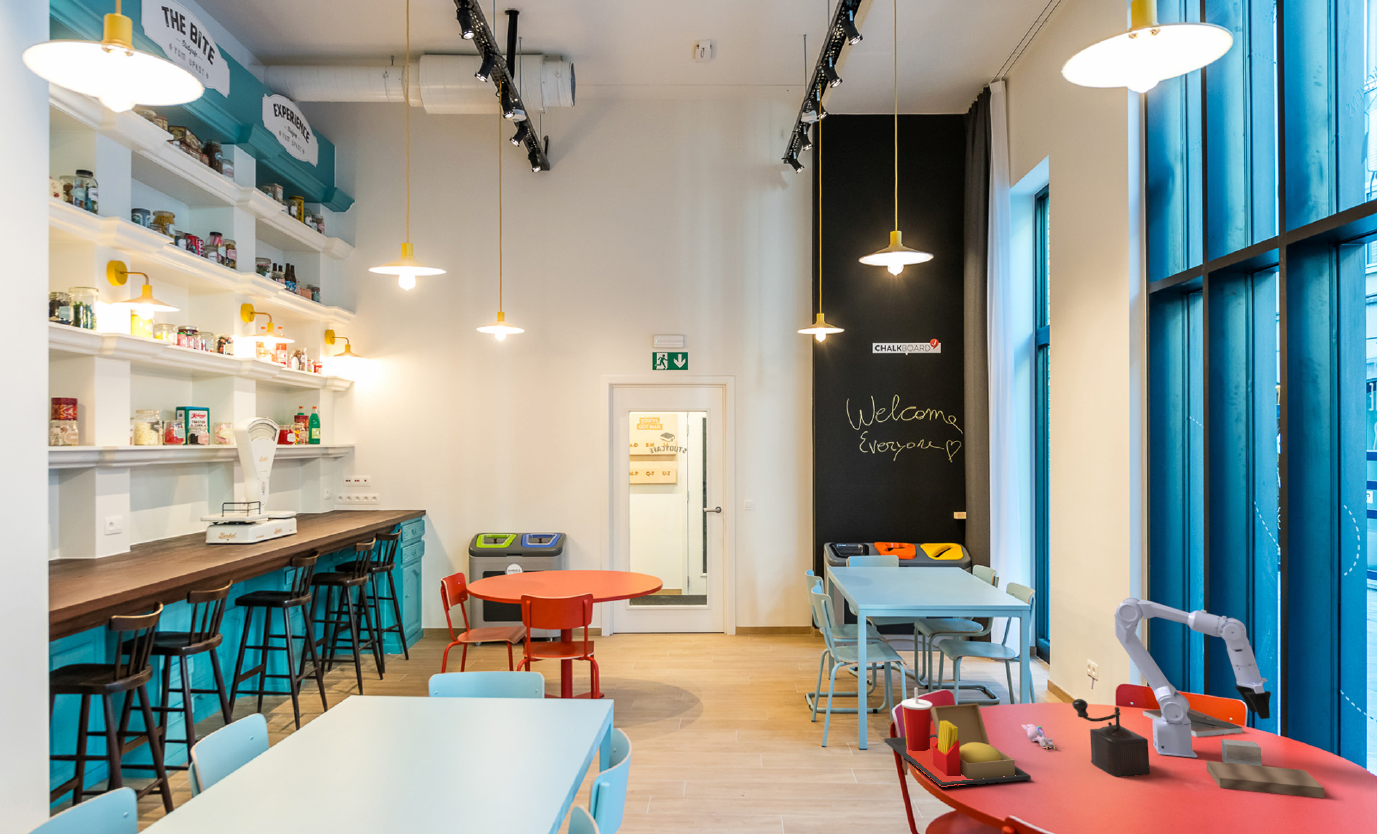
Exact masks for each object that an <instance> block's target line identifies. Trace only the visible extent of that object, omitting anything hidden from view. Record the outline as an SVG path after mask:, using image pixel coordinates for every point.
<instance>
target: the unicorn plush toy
mask: <svg viewBox="0 0 1377 834" xmlns="http://www.w3.org/2000/svg"><path fill="white" fill-rule="evenodd" d="M1021 727H1022V728H1023V730H1024V731H1025V732H1026V733H1027V737H1028V739H1029V740H1031V741H1032V742H1033V743H1035V742H1034V741H1038V742H1037V743H1039V745H1040V747H1041V746H1042V747H1046V749H1047V750H1049V748H1048V747H1047V746H1049V747H1052V748H1053V749H1054V750H1057V748H1056V744H1054V742H1053V738H1051V737H1050V738H1049V737H1046V735H1045V732H1044V730H1043V728H1042V726H1041V725H1038V726H1036V725H1035V724H1032V723H1029V724H1021ZM1042 747H1041V748H1042ZM1046 749H1045V750H1046Z"/></svg>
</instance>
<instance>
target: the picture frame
mask: <svg viewBox="0 0 1377 834" xmlns="http://www.w3.org/2000/svg"><path fill="white" fill-rule="evenodd" d="M1142 716H1143V717H1144V716H1145V717H1146V716H1147V718H1149V719H1151V720H1153V719H1161V716H1162V713H1161V708H1157V709H1147V710H1145V709H1144V710H1142ZM1187 717H1188V718H1189V719H1190V720H1191V735H1192V736H1193V737H1194V738H1199V737H1201V738H1202V737H1210V736H1220V735H1221V736H1222V734H1224V735H1230V734H1229V733H1235V734H1243V733H1244V731H1243V730H1244V729H1243V726H1241V725H1237V724H1235V723H1232V722H1230V721H1225V720H1223V719H1220V718H1217V717H1214V716H1212V715H1209V714H1207V713H1204V712H1201V711H1198V710H1195V709H1193V708H1190V707H1189V710H1188V712H1187Z"/></svg>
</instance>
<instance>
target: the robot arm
mask: <svg viewBox="0 0 1377 834" xmlns="http://www.w3.org/2000/svg"><path fill="white" fill-rule="evenodd" d="M1155 617H1156V618H1160V619H1164V620H1169V621H1171V622H1172V621H1173V622H1178V623H1182V624H1185V625H1187V626H1188V627H1189V628H1190V629H1191V630H1192V631H1194V632H1198V633H1202V634H1205V635H1210V636H1212V637H1216V638H1219V637H1221V638H1222V639H1223V640H1224V641H1225V645H1226V651H1227V654H1228V657H1229V660H1230V664H1231V666H1232V669H1233V673H1234V676H1235V679H1236V681H1235V682H1236V685H1235V686H1234V689H1235V690H1236V691H1237V692H1238V693H1239V695H1241V697H1242V699H1243V701H1244V703H1245V704H1246V705H1247V708H1248V710H1249V711H1250V713H1256V714H1257V715H1258V717H1259V719H1260V720H1265V719H1270V718H1271V711H1270V699H1271V696H1272V691H1270V690H1265V689H1264V687H1263V684H1264V683H1267V682H1268V680H1267V678H1266V677H1261V674H1260V671H1259V667H1258V664H1257V661H1256V657H1255V655H1254V651H1253V649H1252V646H1251V645H1250V641H1249V639H1248V636H1247V629H1246V625H1245V624H1244V623H1243V622H1242V621H1240V620H1238V619H1236V618H1235V617H1229V618H1227V616H1226V615H1222V616H1219V615H1216V614H1211V613H1208V612H1207V610H1204V609H1201V610H1194V611H1192V612H1187V611H1184V610H1181V609H1177V608H1174V607H1171V606H1167V605H1163V604H1161V603H1157V602H1154V601H1150V600H1147V599H1139V598H1137V597H1136V598H1135V597H1128V598H1126V599H1124V600H1123V601H1122V602H1121V603H1120V604H1118V606H1117V608H1116V610H1115V612H1114V622H1115V623H1114V625H1115V626H1114V627H1115V628H1114V629H1115V630H1114V632H1115V637H1116V638H1117V640H1118V641H1119V642H1120V644H1121V646H1122V647H1123V649H1124V650H1125V652H1126V653H1127V655H1128V656H1129V658H1130V659H1131V660H1132V662H1133V663H1134V665H1135V667H1136V668H1137V669H1138V671H1139V672H1140V674H1141V675H1142V677H1143V679H1145V681H1146V682H1147V684H1148V685H1149V687H1150V688H1151V690H1152V692H1153V693H1154V696H1155V699H1156V701H1157V703H1158V705H1159V707H1160V709H1161V713H1162V716H1161V719H1152V738H1153V740H1152V741H1153V747H1154V750H1156V752H1157V754H1159V755H1161V756H1162V755H1163V756H1174V757H1185V758H1196V759H1197V758H1198V755H1197V754H1196V753H1195V751H1194V750H1193V739H1192V738H1193V737H1192V735H1191V720H1190V719H1189V718H1188V717H1187V712H1188V710H1189V708H1190V702H1189V700H1188V698H1187V697H1185V695H1182V694H1181V693H1180V692H1178V690H1177V689H1176V687H1175V686H1173V684H1171V683H1170V682H1169V680H1168V679H1167V677H1166V676H1165V675H1164V673H1163V672H1162V670H1161V668H1160V667H1159V666H1158V665H1157V663H1156V662H1155V660H1154V658H1153V657H1152V656H1151V654H1150V653H1149V651H1148V650H1147V649H1146V647H1145V646H1144V644H1143V643H1142V641H1141V639H1139V637H1138V635H1137V634H1136V632H1137V629H1138V625H1139V621H1141V619H1142V618H1143V620H1148V619H1152V618H1155Z"/></svg>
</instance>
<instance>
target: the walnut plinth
mask: <svg viewBox="0 0 1377 834" xmlns="http://www.w3.org/2000/svg"><path fill="white" fill-rule="evenodd" d="M1206 771H1207V772H1208V774H1209V775H1210V776H1211V778H1212V779H1213V780H1214V782H1215V783H1216V784H1217V786H1218V787H1219V788H1220V789H1229V790H1241V791H1248V792H1249V791H1250V792H1258V793H1259V792H1260V793H1267V794H1268V793H1269V794H1279V795H1287V794H1289V795H1290V796H1298V797H1299V796H1300V797H1307V798H1317V797H1319V798H1320V799H1325V798H1326V797H1325V787H1324V786H1323V785H1322V784H1320V783H1319V782H1318V781H1317V780H1316V779H1315V778H1314V777H1313V776H1312V775H1311V774H1310V773H1308V771H1306V770H1305V769H1299V768H1289V767H1288V768H1287V767H1278V766H1277V767H1275V766H1265V765H1262V766H1256V765H1245V764H1234V763H1224V762H1223V761H1221V762H1220V761H1210V760H1206ZM1319 798H1318V799H1319Z"/></svg>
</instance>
